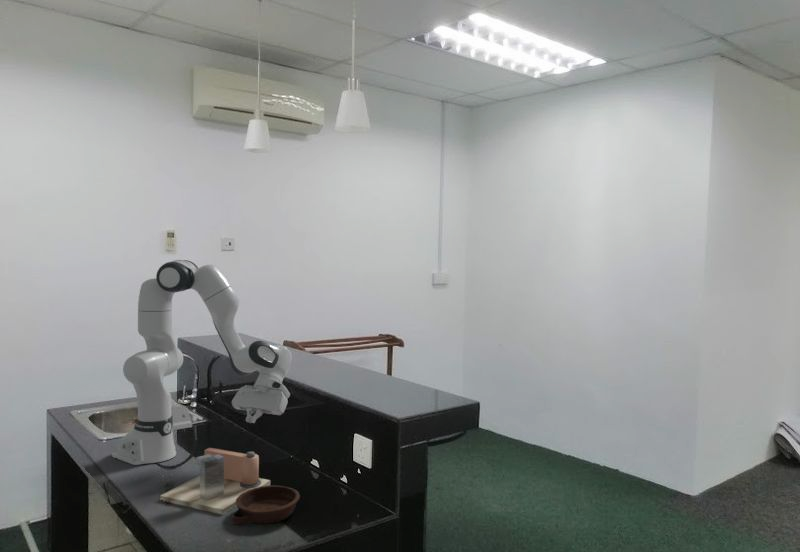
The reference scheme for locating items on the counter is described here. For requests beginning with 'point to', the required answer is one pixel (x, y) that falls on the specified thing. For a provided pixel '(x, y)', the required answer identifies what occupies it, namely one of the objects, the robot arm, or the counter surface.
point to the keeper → (211, 476)
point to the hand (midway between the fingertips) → (249, 421)
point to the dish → (265, 504)
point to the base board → (222, 504)
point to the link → (238, 465)
